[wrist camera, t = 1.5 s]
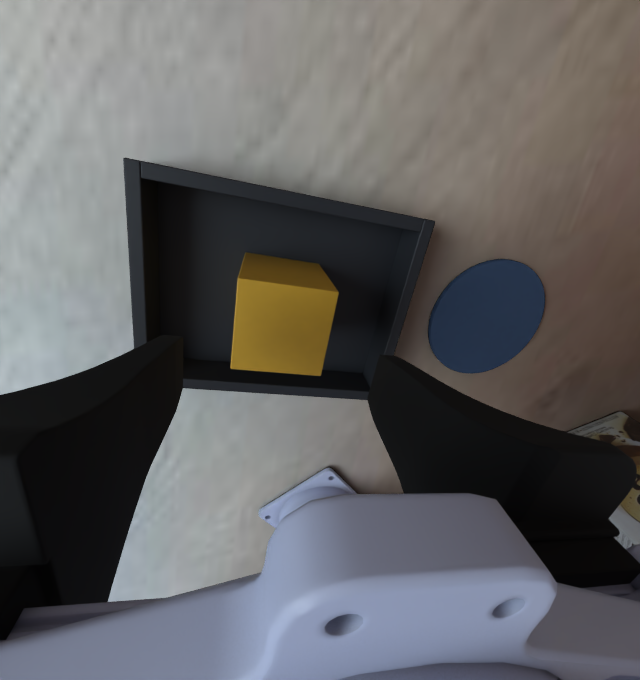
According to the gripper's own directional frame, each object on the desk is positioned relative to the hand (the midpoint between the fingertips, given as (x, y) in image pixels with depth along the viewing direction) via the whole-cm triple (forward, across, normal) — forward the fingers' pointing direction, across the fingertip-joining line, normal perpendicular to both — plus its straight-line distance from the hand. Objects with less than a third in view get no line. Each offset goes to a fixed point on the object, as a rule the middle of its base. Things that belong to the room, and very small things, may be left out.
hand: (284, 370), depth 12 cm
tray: (+10, 0, 0) cm, 10 cm away
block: (+10, 0, 0) cm, 10 cm away
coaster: (+10, -16, 0) cm, 19 cm away
